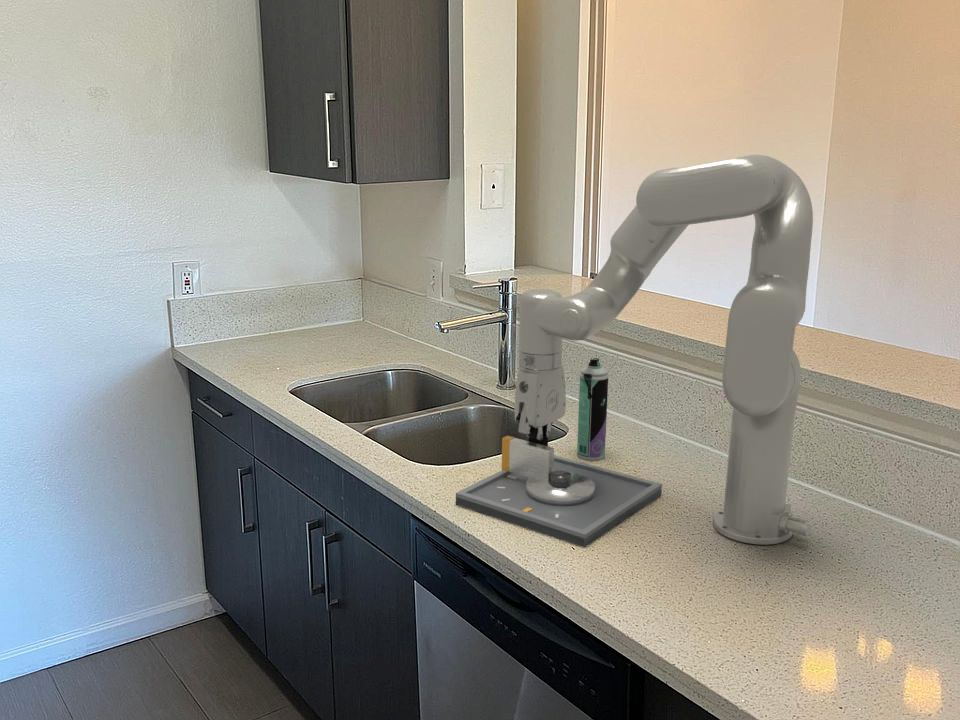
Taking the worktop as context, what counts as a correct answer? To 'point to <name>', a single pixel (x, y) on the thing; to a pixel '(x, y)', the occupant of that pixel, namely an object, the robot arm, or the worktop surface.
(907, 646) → the worktop surface
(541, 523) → the panel
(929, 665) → the worktop surface
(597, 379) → the spray can
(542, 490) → the dial
